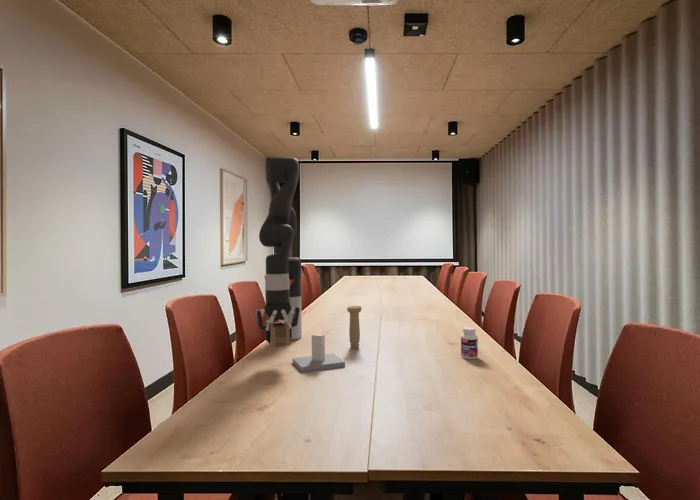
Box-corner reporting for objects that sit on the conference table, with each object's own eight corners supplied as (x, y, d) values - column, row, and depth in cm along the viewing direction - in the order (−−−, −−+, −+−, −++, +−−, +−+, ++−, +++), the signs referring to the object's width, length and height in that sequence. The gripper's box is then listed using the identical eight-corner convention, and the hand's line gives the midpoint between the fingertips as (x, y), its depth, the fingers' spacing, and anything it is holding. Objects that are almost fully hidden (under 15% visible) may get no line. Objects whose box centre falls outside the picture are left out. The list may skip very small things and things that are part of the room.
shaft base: (292, 362, 133) (292, 333, 133) (333, 357, 138) (333, 329, 138) (301, 372, 122) (301, 340, 122) (345, 366, 128) (344, 336, 128)
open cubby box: (267, 341, 132) (267, 322, 131) (284, 339, 134) (284, 320, 134) (271, 347, 125) (271, 326, 125) (289, 345, 127) (289, 325, 127)
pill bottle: (460, 358, 135) (459, 329, 135) (462, 354, 140) (461, 326, 140) (477, 360, 133) (476, 330, 133) (478, 355, 138) (478, 327, 138)
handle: (363, 345, 154) (363, 306, 153) (357, 350, 148) (357, 308, 148) (352, 344, 156) (351, 305, 155) (345, 348, 150) (344, 308, 149)
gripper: (296, 285, 135) (297, 336, 135) (252, 287, 129) (253, 340, 130) (302, 287, 128) (303, 341, 128) (256, 290, 122) (257, 346, 123)
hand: (278, 340), depth 129 cm, fingers closed on open cubby box, 5 cm apart
